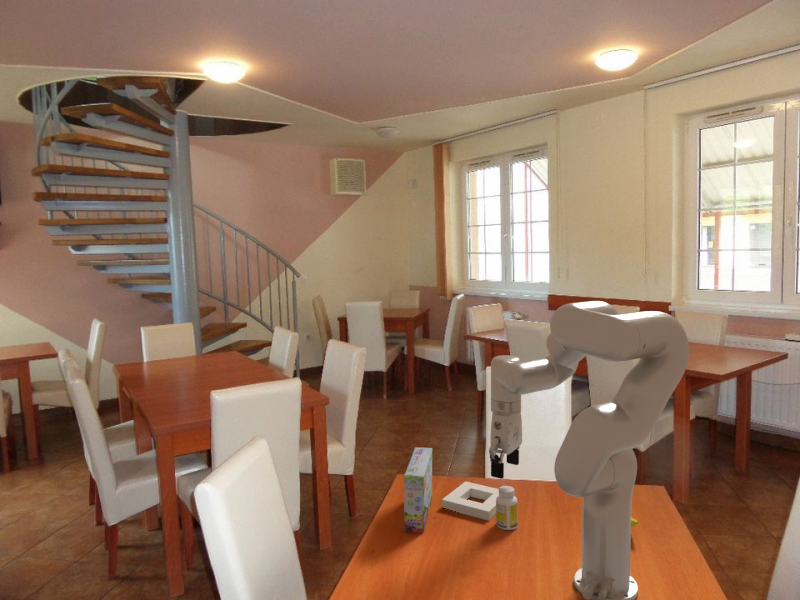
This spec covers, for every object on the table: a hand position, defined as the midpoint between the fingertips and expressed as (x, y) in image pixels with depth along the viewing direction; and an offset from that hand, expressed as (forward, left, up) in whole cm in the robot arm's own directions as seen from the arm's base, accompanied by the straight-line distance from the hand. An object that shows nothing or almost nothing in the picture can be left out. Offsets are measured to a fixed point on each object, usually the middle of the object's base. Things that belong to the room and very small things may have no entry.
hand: (505, 470), depth 147 cm
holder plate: (+7, +11, -15) cm, 20 cm away
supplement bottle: (0, -1, -15) cm, 15 cm away
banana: (+16, -25, -15) cm, 33 cm away
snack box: (-6, +22, -15) cm, 27 cm away
